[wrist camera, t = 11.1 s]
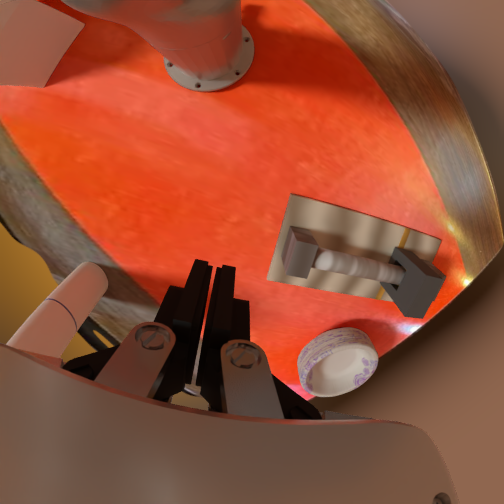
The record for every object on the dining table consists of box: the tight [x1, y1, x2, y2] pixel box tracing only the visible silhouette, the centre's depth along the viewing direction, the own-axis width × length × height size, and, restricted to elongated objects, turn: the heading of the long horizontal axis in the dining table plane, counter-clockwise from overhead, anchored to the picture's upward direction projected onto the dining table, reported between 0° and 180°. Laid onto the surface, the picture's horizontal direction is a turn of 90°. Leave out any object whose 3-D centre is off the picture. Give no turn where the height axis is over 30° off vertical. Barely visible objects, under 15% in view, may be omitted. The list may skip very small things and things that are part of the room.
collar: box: [380, 247, 443, 319], centre depth 38 cm, size 4×7×10 cm, turn 167°
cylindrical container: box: [6, 262, 108, 358], centre depth 32 cm, size 7×7×25 cm
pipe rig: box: [267, 193, 446, 302], centre depth 40 cm, size 30×14×7 cm, turn 77°
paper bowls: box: [297, 327, 378, 397], centre depth 47 cm, size 15×15×8 cm
